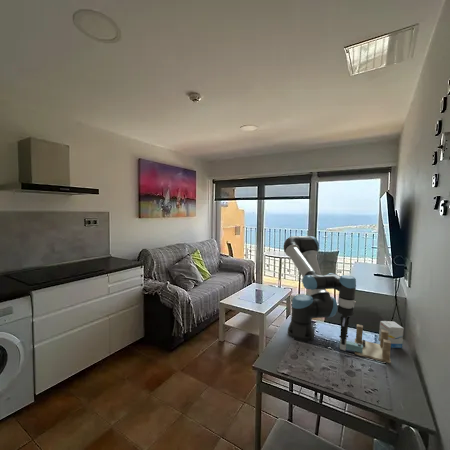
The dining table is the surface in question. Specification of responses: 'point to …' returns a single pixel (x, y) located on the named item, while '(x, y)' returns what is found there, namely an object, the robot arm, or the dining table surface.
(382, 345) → the stool seat
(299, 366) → the dining table surface
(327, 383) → the dining table surface
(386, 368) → the dining table surface
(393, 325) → the ink box
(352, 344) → the hinged leg
